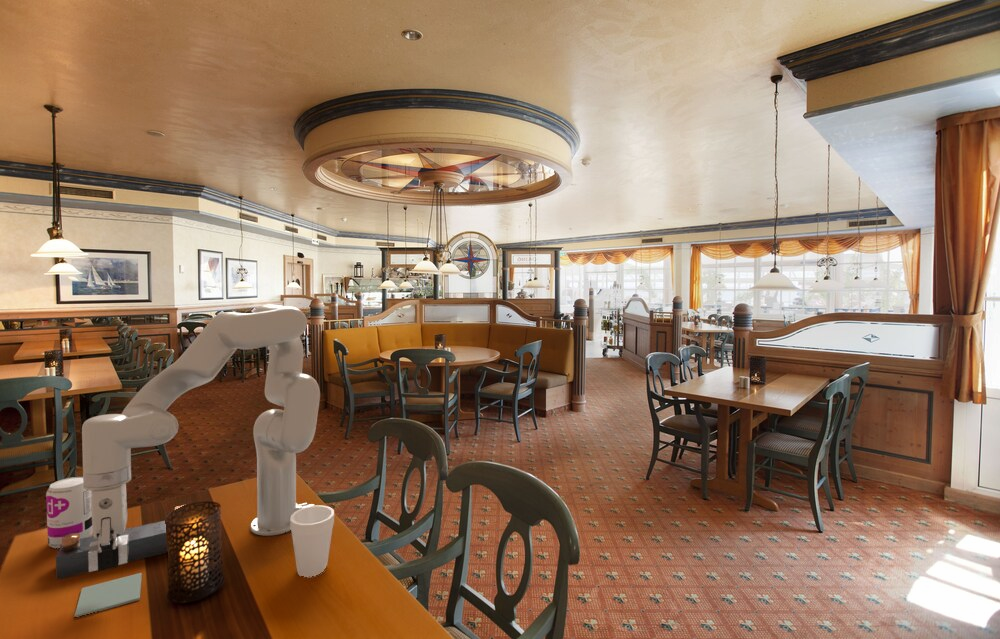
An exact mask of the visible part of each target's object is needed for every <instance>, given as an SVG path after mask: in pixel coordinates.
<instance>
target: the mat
mask: <svg viewBox="0 0 1000 639" xmlns="http://www.w3.org/2000/svg"><path fill="white" fill-rule="evenodd" d="M142 576H143V572H139V573H135V574H131V575H127V576H123V577H120V578H115V579H112V580H109V581H105V582H99V583H97V584H93V585H90V586H89V585H88V586H85V587H82V588H81V592H80V593H79V594H80V595H79V598H78V602H77V606H76V608H75V612H74V615H73V616H74V617H77V616H82V615H85V616H87V615H86V614H89V615H91V614H90V613H92V614H94V613H93V612H95V613H98V612H97V611H99V612H101V611H105V610H109V609H114V608H115V607H120V606H122V605H123V606H124V605H126V604H129V603H133V602H137V601H140V600H141V591H142V590H141V589H142ZM82 617H83V616H82Z"/></svg>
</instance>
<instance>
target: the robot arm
mask: <svg viewBox="0 0 1000 639" xmlns="http://www.w3.org/2000/svg"><path fill="white" fill-rule="evenodd" d="M307 325H308V318H307V316H306V314H305V313H304V312H303V311H302V310H301V309H300V308H297V307H295V306H288V305H280V304H279V305H278V304H263V305H260V306H258V307H256V308H255V309H254V310H253V312H250V313H247V312H246V313H243V312H242V313H241V312H234V311H225V312H221V313H218V314H217V315H215V316H214V317H213V318H212V319H211V320H210V321H209V322H208V323H207V325H206V326H204V328H203V329H202V331H200V333H199V334H198V335H197V336H196V338H194V340H193V341H192V343H190V345H189V346H188V347H187V348H186V350H185V351H184V352H183V353H182V354H181V356H179V358H177V359H176V361H175V362H173V363H172V364H170V365H168V366H167V367H166V368H165V369H163V370H162V371H161V372H159V373H158V374H157V375H155V376H154V377H153V378H151V379H150V380H148V382H147V383H145V385H144V386H142V387H141V388H140V390H139V391H138V392H137V393H136V394H135V395H134V396H133V398H132V399H131V400H130V401H129V403H128V404H127V405H126V407H124V408H123V411H122V412H121V413H109V414H101V415H100V414H99V415H97V416H92V417H90V418H88V419H86V420H85V421H84V422H83V424H82V425H81V426H82V427H81V438H82V439H81V440H82V441H81V442H82V444H81V446H82V477H83V488H84V489H85V490H91V509H92V528H93V533H92V536H93V537H94V538H95V539H98V552H97V555H98V570H97V571H99V572H101V571H105V570H109V569H113V568H117V567H119V565H118V564H119V555H118V547H117V537H119V536H120V535H119V533H120V534H122V533H124V531H125V529H127V527H126V526H127V523H128V502H127V484H128V483H129V482H131V480H132V456H131V455H132V453H131V452H132V451H131V450H132V449H134V448H135V449H137V448H147V447H155V446H159V445H163V444H166V443H168V442H169V441H171V440H172V439H174V437H175V436H176V434H178V430H179V422H178V419H177V418H176V416H174V414H173V413H170V412H169V411H167V410H168V409H169V407H170V406H171V405H172V404H173V403H174V402H175V401H176V400H177V399H178V398H180V397H181V396H182V395H184V394H185V393H187V392H188V391H190V390H193V389H194V388H198V387H200V386H203V385H205V384H207V383H210V382H211V381H213V380H214V379H215V377H216V376H217V375H218V374H219V373H220V371H221V370H222V369H223V367H224V366H225V365H226V363H227V362H228V361H229V360H230V359H231V357H232V356H233V355H234V354H235V352H236V351H237V350H238V349H239V350H253V349H254V350H255V349H259V348H264V347H267V348H268V353H269V355H268V363H267V364H268V365H267V370H266V377H265V384H264V396H265V398H266V400H267V401H268V402H269V403H272V404H274V405H277V406H280V407H282V408H283V409H279V408H272V409H268V410H266V411H263V412H261V413H260V415H259V416H258V417H257V418H256V419H255V423H254V424H253V433H252V434H253V441H254V444H255V452H256V473H257V474H256V479H257V480H256V483H257V484H256V489H257V490H256V491H257V492H256V494H257V496H256V500H257V501H256V504H257V505H256V506H257V507H256V509H257V511H256V512H257V514H256V515H257V516H256V517H255V518H254V519H253V520H252V521H251V523H250V531H251V532H252V533H253V534H255V535H259V536H267V537H269V536H278V535H282V534H284V533H285V532H286V533H288V532H291V531H290V519H291V515H292V514H293V513H294V512H295V511H297V510H300V509H302V508H305V507H309V506H315V504H313V503H311V504H308V502H303V503H299V504H298V503H297V456H296V454H298V453H302V452H304V451H305V450H306V449H308V448H309V446H310V445H311V443H312V442H313V440H314V437H315V434H316V428H317V423H318V422H317V421H318V414H319V408H320V401H321V400H320V399H321V391H320V389H321V388H320V386H319V383H318V382H317V380H316V379H315V378H314V377H312V375H309V374H307V373H303V366H304V365H303V364H304V353H305V352H304V345H303V342H302V339H301V336H303V334H304V333H305V331H306V329H307V328H308V327H307ZM286 533H285V534H286ZM101 534H102V535H101ZM110 538H113V541H112V540H110Z"/></svg>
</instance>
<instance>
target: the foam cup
mask: <svg viewBox="0 0 1000 639" xmlns="http://www.w3.org/2000/svg"><path fill="white" fill-rule="evenodd" d="M334 525H335V510H334V509H333V508H332V507H330V506H327V505H323V504H321V505H319V504H317V505H314V506H309V507H305V508H302V509H300V510H297V511H295V512H294V513H293V514H292V515H291V519H290V530H291V531H290V532H291V537H292V538H291V539H292V544H293V551H294V552H293V553H294V558H295V564H296V571H297V574H298V575H299V576H300V577H301V576H304V577H303V578H305V577H307V578H313V577H312V576H314V577H317V576H316V575H318V574H320V573H321V572H323V571H324V569H325V568H326V566H328V560H329V555H330V547H331V540H332V534H333V527H334ZM324 572H325V571H324ZM324 572H323V573H324ZM321 574H322V573H321ZM321 574H320V575H321ZM309 576H310V577H309ZM318 576H319V575H318Z"/></svg>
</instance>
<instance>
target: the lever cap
mask: <svg viewBox="0 0 1000 639" xmlns="http://www.w3.org/2000/svg"><path fill="white" fill-rule="evenodd" d="M110 540H112V541H113V538H110ZM117 547H118V555H119V564H118V566H120V565H124V564H128V562H127V561H128V554H129V541H128V535H123V536H119V537H117ZM97 552H98V541H95V542H90V546H89V552H88V560H89V572H88V573H91V572H95V571H98V555H97Z"/></svg>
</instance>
